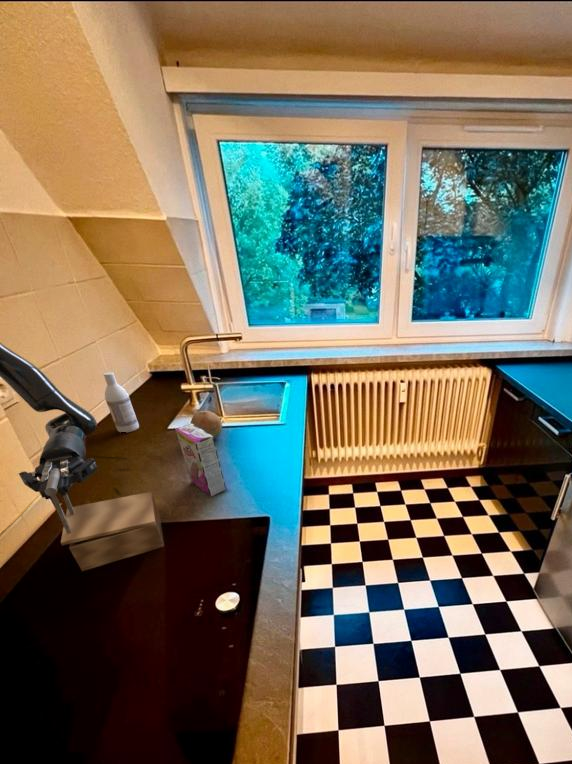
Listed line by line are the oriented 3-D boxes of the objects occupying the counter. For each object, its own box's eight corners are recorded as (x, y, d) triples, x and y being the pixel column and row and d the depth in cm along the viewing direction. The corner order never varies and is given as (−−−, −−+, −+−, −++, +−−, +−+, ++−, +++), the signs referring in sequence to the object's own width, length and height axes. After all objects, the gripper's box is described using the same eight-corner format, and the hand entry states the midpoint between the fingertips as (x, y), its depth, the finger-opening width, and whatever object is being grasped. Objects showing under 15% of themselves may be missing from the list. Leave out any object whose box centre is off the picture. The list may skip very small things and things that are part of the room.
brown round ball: (229, 432, 133) (223, 405, 128) (217, 446, 125) (211, 417, 120) (202, 432, 134) (195, 404, 129) (189, 445, 126) (181, 416, 120)
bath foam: (116, 428, 137) (94, 372, 127) (137, 423, 141) (118, 368, 130) (119, 435, 133) (97, 378, 122) (141, 430, 136) (121, 374, 125)
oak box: (82, 571, 79) (69, 548, 76) (86, 535, 88) (74, 513, 85) (164, 546, 85) (155, 524, 82) (159, 515, 94) (152, 494, 91)
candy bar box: (190, 482, 107) (173, 428, 98) (206, 475, 110) (192, 422, 101) (210, 498, 100) (194, 442, 92) (227, 490, 104) (214, 435, 95)
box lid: (61, 545, 75) (39, 495, 69) (68, 510, 84) (48, 464, 78) (155, 524, 82) (142, 477, 76) (151, 494, 91) (139, 450, 85)
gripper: (18, 445, 81) (-2, 486, 68) (93, 432, 86) (88, 467, 73) (34, 476, 85) (18, 519, 72) (105, 461, 90) (102, 499, 77)
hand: (54, 493), depth 73 cm, fingers closed on box lid, 2 cm apart
